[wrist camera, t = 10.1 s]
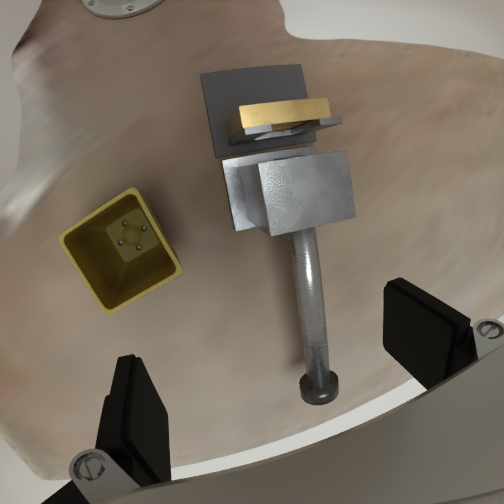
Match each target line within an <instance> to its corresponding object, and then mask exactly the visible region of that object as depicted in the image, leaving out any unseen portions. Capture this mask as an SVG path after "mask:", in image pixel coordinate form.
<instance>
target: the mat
mask: <svg viewBox="0 0 504 504" xmlns="http://www.w3.org/2000/svg"><path fill="white" fill-rule="evenodd" d="M201 80H202V85H203V91H204V96H205V102H206V107H207V113H208V118H209V123H210V129H211V134H212V139H213V145H214V150H215V155H216V158H217V157H222V156H227V155H232V154H238V153H243V152H249V151H255V150H261V149H267V148H274V147H280V146H287V145H294V144H302V143H310V142H316V137H315V131H314V132H310V133H307V134H304V135H298V136H290V137H282V138H275V139H268V140H262V141H256V142H249V143H243V144H238V145H232V146H229V144H228V140H230V139H229V134H228V129H227V124H226V122H227V121H228V119H229V118H230V117H231V116H232V114H233V113H234V112H235V111H236V109H237V108H238V107H239V106H246V105H253V104H261V103H269V102H279V101H289V100H301V99H308V96H307V91H306V86H305V82H304V77H303V73H302V68H301V64H296V65H277V66H264V67H253V68H243V69H235V70H227V71H219V72H212V73H206V74H201Z"/></svg>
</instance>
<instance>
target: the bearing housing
mask: <svg viewBox="0 0 504 504" xmlns="http://www.w3.org/2000/svg"><path fill="white" fill-rule="evenodd" d="M300 155H304V156H301V157H295V158H288V159H282V160H276V161H275V160H274V159H280V158H287V157H293V156H300ZM221 162H222V168H223V173H224V178H225V183H226V188H227V193H228V199H229V204H230V209H231V214H232V219H233V224H234V229H235V231H239V230H244V229H248V228H253V227H258V228H260V229H261V230H263V231H264V232H265V233H267V234H268V235H270V236H276V235H280V234H285V233H289V232H293V231H298V230H302V229H307V228H311V227H316V226H320V225H325V224H329V223H333V222H338V221H342V220H347V219H351V218H356V215H355V206H354V198H353V190H352V182H351V175H350V168H349V162H348V155H347V151H339V152H330V153H322V154H317V153H316V147H315V146H309V147H302V148H294V149H287V150H281V151H274V152H268V153H262V154H256V155H250V156H244V157H239V158H234V159H228V160H223V161H221Z"/></svg>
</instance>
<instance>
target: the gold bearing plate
mask: <svg viewBox="0 0 504 504" xmlns="http://www.w3.org/2000/svg"><path fill="white" fill-rule="evenodd" d="M320 118H331V114H330V109H329V104H328V99H327V98H315V99H301V100H289V101H279V102H269V103H261V104H253V105H246V106H239V107H238V108H237V109H236V111H235V112H234V113H233V114H232V116H231V117H230V118H229V119H228V121H227V122H226V124H227V129H228V134H229V139H231V138H232V137H233V136H235V135H236V134H237V133H238V132H240V131H241V130H242V129H244V128H246V127H252V126H259V125H266V124H271V128H272V131H271V132H274V131H281V130H289V129H293V128H296V127H298V126H301V125H304V124H306V123H309V122H311V121H314V120H317V119H320Z"/></svg>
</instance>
